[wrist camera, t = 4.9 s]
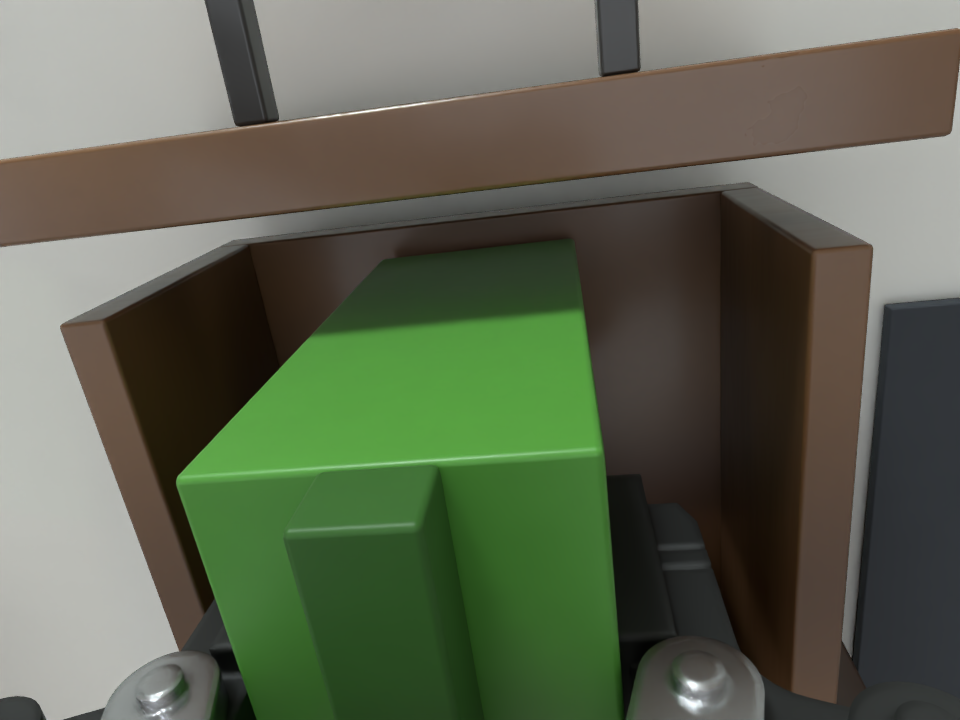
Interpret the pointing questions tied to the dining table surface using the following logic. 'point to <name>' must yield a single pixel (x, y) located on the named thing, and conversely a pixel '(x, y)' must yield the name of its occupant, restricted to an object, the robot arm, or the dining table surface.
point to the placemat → (914, 504)
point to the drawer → (591, 224)
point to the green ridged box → (422, 504)
